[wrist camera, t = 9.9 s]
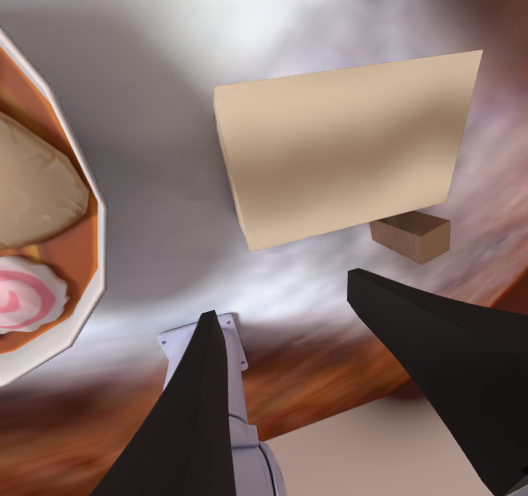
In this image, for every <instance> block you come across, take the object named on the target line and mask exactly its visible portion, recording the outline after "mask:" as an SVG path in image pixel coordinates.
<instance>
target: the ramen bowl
mask: <svg viewBox="0 0 528 496" xmlns="http://www.w3.org/2000/svg"><path fill="white" fill-rule="evenodd" d="M107 222H108V207H107V204H106V200H105V198H104V196H103V194H102V192H101V189H100V187H99V185H98V183H97V181H96V179H95V177H94V174H93V172H92V170H91V168H90V166H89V164H88V161H87V159H86V157H85V155H84V153H83V151H82V148H81V146H80V144H79V142H78V140H77V138H76V136H75V133H74V131H73V129H72V127H71V125H70V123H69V120H68V118H67V116H66V114H65V112H64V110H63V108H62V105H61V103H60V101H59V99H58V98H57V96H56V94H55V92H54V90H53V89H52V87H51V85H50V84H49V83H48V82H47V80H46V79H45V78H44V77H43V76H42V74H41V73H40V72H39V71H38V70H37V69H36V67H35V66H34V65H33V64H32V63H31V61H30V60H29V59H28V58H27V57H26V56H25V54H24V53H23V52H22V51H21V50H20V48H19V47H18V46H17V45H16V44H15V43H14V41H13V40H12V39H11V38H10V37H9V35H8V34H7V33H6V32H5V31H4V30H3V28H2V27H1V26H0V388H1V387H5V386H7V385H9V384H11V383H12V382H14V381H16V380H17V379H19V378H21V377H22V376H24V375H26V374H27V373H29V372H30V371H32V370H34V369H35V368H37V367H39V366H40V365H42V364H44V363H45V362H47V361H49V360H50V359H52V358H54V357H55V356H57V355H58V354H60V353H62V352H63V351H65V350H67V349H68V348H70V347H72V345H73V344H74V342H75V340H76V339H77V337H78V335H79V334H80V332H81V331H82V329H83V327H84V326H85V324H86V322H87V321H88V319H89V317H90V316H91V314H92V312H93V311H94V309H95V307H96V306H97V304H98V303H99V301H100V299H101V298H102V296H103V294H104V293H105V291H106V289H107Z"/></svg>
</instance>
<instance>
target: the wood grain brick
mask: <svg viewBox="0 0 528 496" xmlns="http://www.w3.org/2000/svg"><path fill="white" fill-rule="evenodd" d="M369 223H370V229H371V234H372V239H373V240H374V241H376V242H378V243H380V244H382V245H384V246H386V247H388V248H390V249H392V250H394V251H396V252H398V253H400V254H402V255H404V256H405V257H407V258H409V259H411V260H413V261H415V262H417V263H419V264H421V265H422V264H424V263H426V262H428V261H430V260H432V259H433V258H435V257H437V256H439V255H441V254H443V253H445V252H446V251H448V250H450V220H446V219H442V218H439V217H435V216H431V215H427V214H423V213H420V212H416V211H409V212H405V213H401V214H397V215H394V216H390V217H386V218H382V219H378V220H374V221H370V222H369Z"/></svg>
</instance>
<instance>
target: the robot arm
mask: <svg viewBox="0 0 528 496" xmlns="http://www.w3.org/2000/svg"><path fill="white" fill-rule="evenodd" d="M347 301H348V302H349V304H350V305H351V307H352V308H353V310H354V311H355V312H356V314H357V315H358V317H359V318H360V319H361V320H362V321H363V322H364V323H365V324H366V325H367V327H368V328H369V329H370V330H371V331H372V332H373V333H374V334H375V335H376V336H377V337H378V339H379V340H380V341H381V342H382V343H383V344H384V345H385V346H386V347H387V348H388V349H389V351H390V352H391V353H392V354H393V355H394V356H395V357H396V359H397V360H398V361H399V362H400V363H401V365H402V366H403V367H404V369H405V370H406V371H407V372H408V374H409V375H410V376H411V378H412V379H413V380H414V382H415V383H416V384H417V385H418V387H419V388H420V390H421V391H422V392H423V394H424V395H425V397H426V398H427V399H428V401H429V402H430V403H431V405H432V406H433V407H434V409H435V410H436V412H437V413H438V415H439V416H440V418H441V419H442V420H443V422H444V423H445V425H446V426H447V428H448V429H449V431H450V432H451V434H452V435H453V437H454V438H455V440H456V441H457V443H458V444H459V446H460V447H461V449H462V451H463V452H464V453H465V455H466V456H467V458H468V460H469V461H470V463H471V464H472V466H473V468H474V469H475V471H476V472H477V474H478V476H479V477H480V479H481V480H482V482H483V483H484V484H485V485H486V486H487V488H488V489H489V490H490V491H491V492H492V494H493V495H494V496H507V495H509V494H511V493H513V492H515V491H517V490H518V491H517V492H515V493H513V494H511V495H509V496H528V486H526V485H528V315H525V314H519V313H513V312H508V311H502V310H497V309H492V308H488V307H483V306H478V305H474V304H469V303H465V302H461V301H457V300H453V299H450V298H446V297H442V296H439V295H435V294H432V293H429V292H426V291H422V290H419V289H416V288H413V287H410V286H407V285H404V284H402V283H399V282H396V281H393V280H391V279H388V278H385V277H382V276H380V275H377V274H374V273H372V272H369V271H366V270H363V269H360V268H357V269H353V270H350V271H348V285H347ZM228 321H231V322H228ZM157 341H158V342H159V344H160V346H161V347H162V349H163V351H164V352H165V354H166V356H167V358H168V359H169V366H168V371H167V375H166V380H165V385H164V390H163V392H162V394H161V396H160V397H159V399H158V401H157V402H156V404H155V405H154V407H153V409H152V410H151V412H150V413H149V415H148V416H147V418H146V419H145V420H144V422H143V424H142V425H141V426H140V428H139V429H138V431H137V432H136V434H135V435H134V437H133V438H132V439H131V441H130V442H129V444H128V445H127V446H126V448H125V449H124V450H123V452H122V453H121V454H120V456H119V457H118V458H117V460H116V461H115V462H114V464H113V465H112V466H111V468H110V469H109V470H108V472H107V473H106V474H105V476H104V477H103V478H102V480H101V481H100V482H99V484H98V485H97V486H96V488H95V489H94V490H93V491H92V493H91V494H90V495H89V496H287V494H286V488H285V484H284V479H283V476H282V473H281V469H280V467H279V464H278V462H277V460H276V458H275V456H274V454H273V452H272V450H271V449H270V447H269V446H268V445H267V444H266V443H264V442H262V441H258V435H257V429H256V426H255V425H248V423H247V413H246V406H245V398H244V391H243V383H242V376H241V371H243V370H246V369H247V368H248V363H247V360H246V357H245V354H244V350H243V347H242V344H241V341H240V338H239V335H238V332H237V329H236V325H235V322H234V319H233V316H232V315H231V314H225V315H222V316H218V317H217V315H216V312H215V310H212V311H209V312H205V313H202V314H201V316H200V318H199V321H198V323H195V324H191V325H188V326H185V327H181V328H178V329H175V330H171V331H168V332H164V333H161V334H159V335H158V338H157ZM524 486H526V487H524ZM522 487H524V488H522ZM521 488H522V489H521ZM519 489H520V490H519Z"/></svg>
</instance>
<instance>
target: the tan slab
mask: <svg viewBox="0 0 528 496" xmlns="http://www.w3.org/2000/svg"><path fill="white" fill-rule="evenodd" d="M482 53H483V50H478V51H470V52H463V53H455V54H448V55H441V56H433V57H426V58H419V59H411V60H404V61H397V62H389V63H382V64H375V65H367V66H360V67H353V68H345V69H338V70H331V71H323V72H316V73H308V74H301V75H294V76H286V77H279V78H272V79H264V80H257V81H250V82H242V83H235V84H228V85H220V86H214V115H213V117H214V121H215V125H216V130H217V134H218V138H219V142H220V147H221V151H222V155H223V160H224V164H225V168H226V172H227V177H228V181H229V185H230V189H231V194H232V198H233V202H234V206H235V211H236V215H237V219H238V222H239V224H240V227H241V229H242V232H243V234H244V237H245V239H246V242H247V244H248V246H249V249H250V251H251V252H254V251H258V250H261V249H265V248H269V247H273V246H277V245H281V244H285V243H289V242H293V241H296V240H300V239H304V238H308V237H312V236H316V235H320V234H324V233H327V232H331V231H335V230H339V229H343V228H347V227H351V226H355V225H359V224H362V223H366V222H370V221H374V220H378V219H382V218H386V217H390V216H394V215H397V214H401V213H405V212H409V211H413V210H417V209H421V208H425V207H429V206H432V205H436V204H440V203H444V202H446V200H447V196H448V192H449V188H450V184H451V180H452V176H453V172H454V168H455V163H456V159H457V155H458V151H459V147H460V143H461V139H462V135H463V131H464V127H465V122H466V118H467V114H468V110H469V106H470V102H471V98H472V94H473V90H474V85H475V81H476V77H477V73H478V69H479V65H480V61H481V57H482Z"/></svg>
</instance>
